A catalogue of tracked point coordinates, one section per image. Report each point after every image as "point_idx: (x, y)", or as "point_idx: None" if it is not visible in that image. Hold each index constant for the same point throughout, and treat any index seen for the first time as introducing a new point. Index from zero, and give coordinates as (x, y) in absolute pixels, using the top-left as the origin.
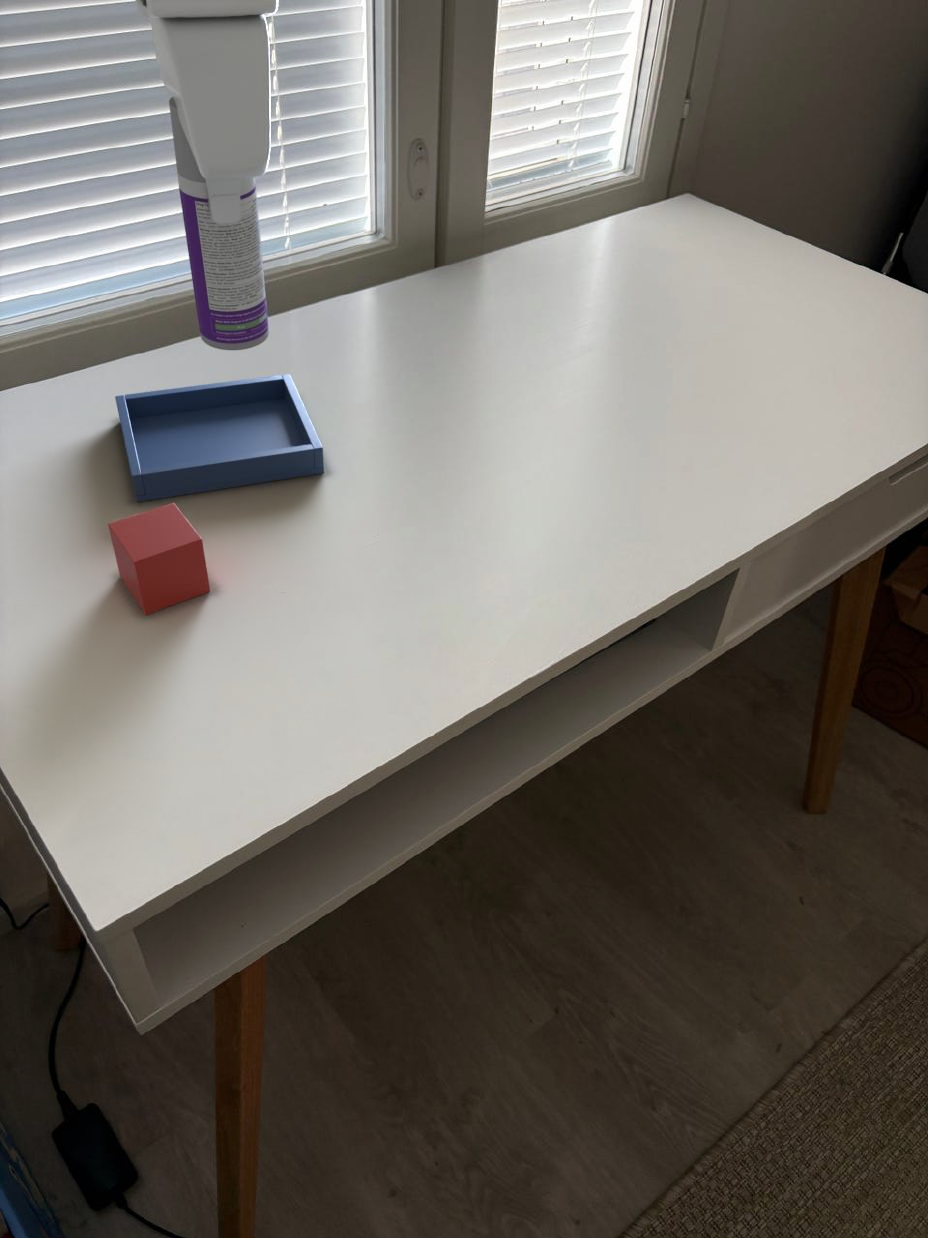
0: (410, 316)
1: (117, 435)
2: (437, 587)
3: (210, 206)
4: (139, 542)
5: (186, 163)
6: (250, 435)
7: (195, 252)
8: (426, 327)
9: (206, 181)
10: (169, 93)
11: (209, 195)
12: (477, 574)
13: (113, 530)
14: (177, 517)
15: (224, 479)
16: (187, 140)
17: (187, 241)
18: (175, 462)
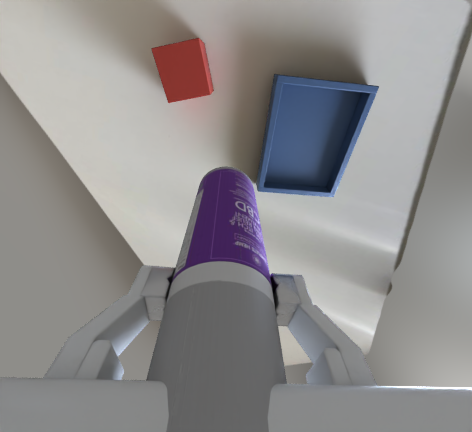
0: (360, 258)
1: (353, 78)
2: (159, 200)
3: (135, 280)
4: (172, 58)
5: (182, 311)
6: (302, 160)
7: (204, 214)
8: (346, 260)
9: (109, 315)
10: (334, 424)
11: (124, 295)
12: (164, 216)
13: (189, 40)
14: (193, 92)
15: (265, 134)
16: (55, 390)
17: (221, 214)
18: (298, 110)
